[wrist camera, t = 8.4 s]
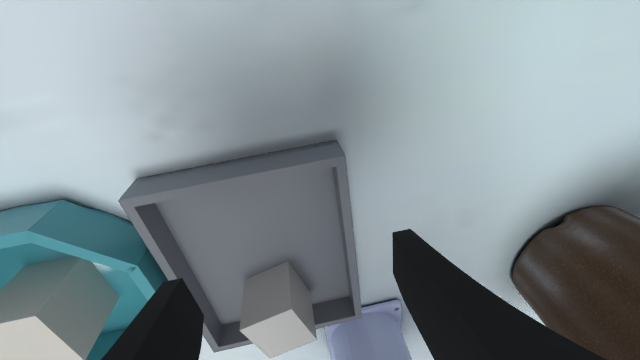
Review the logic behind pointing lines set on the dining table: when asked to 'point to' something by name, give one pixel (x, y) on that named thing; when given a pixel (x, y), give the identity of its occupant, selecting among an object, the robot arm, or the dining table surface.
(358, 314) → the parts tray
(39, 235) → the bowl
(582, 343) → the plant pot
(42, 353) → the white rectangular block
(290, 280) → the light gray cube block
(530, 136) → the dining table surface
